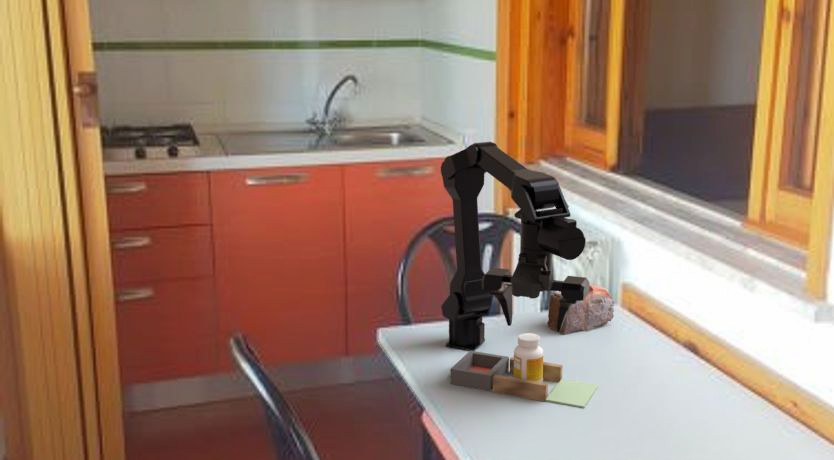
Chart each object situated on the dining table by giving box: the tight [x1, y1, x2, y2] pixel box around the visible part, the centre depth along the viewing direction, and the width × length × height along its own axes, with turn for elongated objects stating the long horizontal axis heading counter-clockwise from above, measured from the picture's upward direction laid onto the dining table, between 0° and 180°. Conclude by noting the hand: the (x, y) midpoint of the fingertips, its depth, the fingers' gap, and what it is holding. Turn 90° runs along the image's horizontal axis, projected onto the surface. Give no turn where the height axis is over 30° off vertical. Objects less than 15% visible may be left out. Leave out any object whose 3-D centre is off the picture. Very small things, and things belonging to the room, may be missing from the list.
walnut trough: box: [492, 356, 563, 402], centre depth 172 cm, size 10×10×3 cm
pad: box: [545, 378, 599, 409], centre depth 169 cm, size 7×10×1 cm
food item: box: [546, 284, 616, 335], centre depth 202 cm, size 14×8×10 cm, turn 121°
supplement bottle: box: [513, 332, 544, 383], centre depth 171 cm, size 5×5×10 cm
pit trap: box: [449, 350, 510, 392], centre depth 176 cm, size 8×10×3 cm
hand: (533, 328), depth 170 cm, fingers open, 9 cm apart
